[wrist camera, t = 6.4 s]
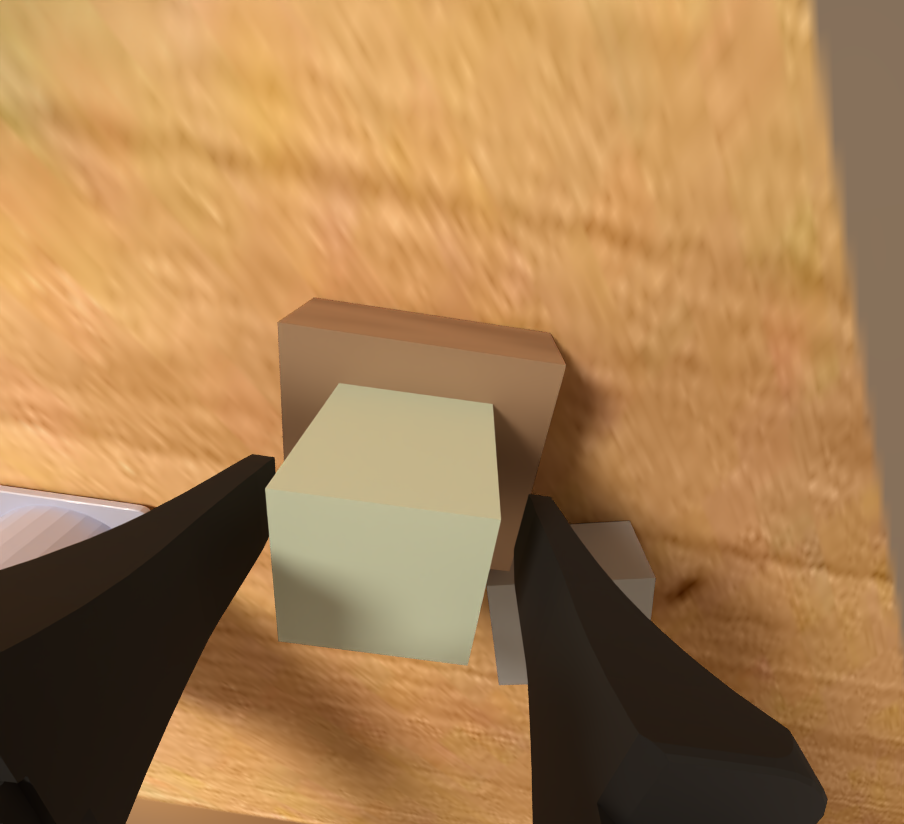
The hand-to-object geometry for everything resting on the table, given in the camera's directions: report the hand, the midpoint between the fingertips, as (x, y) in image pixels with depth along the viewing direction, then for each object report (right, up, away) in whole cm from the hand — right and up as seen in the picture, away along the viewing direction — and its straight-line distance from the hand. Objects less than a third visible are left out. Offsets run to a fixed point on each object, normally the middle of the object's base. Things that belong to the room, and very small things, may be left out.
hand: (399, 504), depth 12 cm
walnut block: (0, +2, +4) cm, 5 cm away
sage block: (0, +1, +2) cm, 2 cm away
